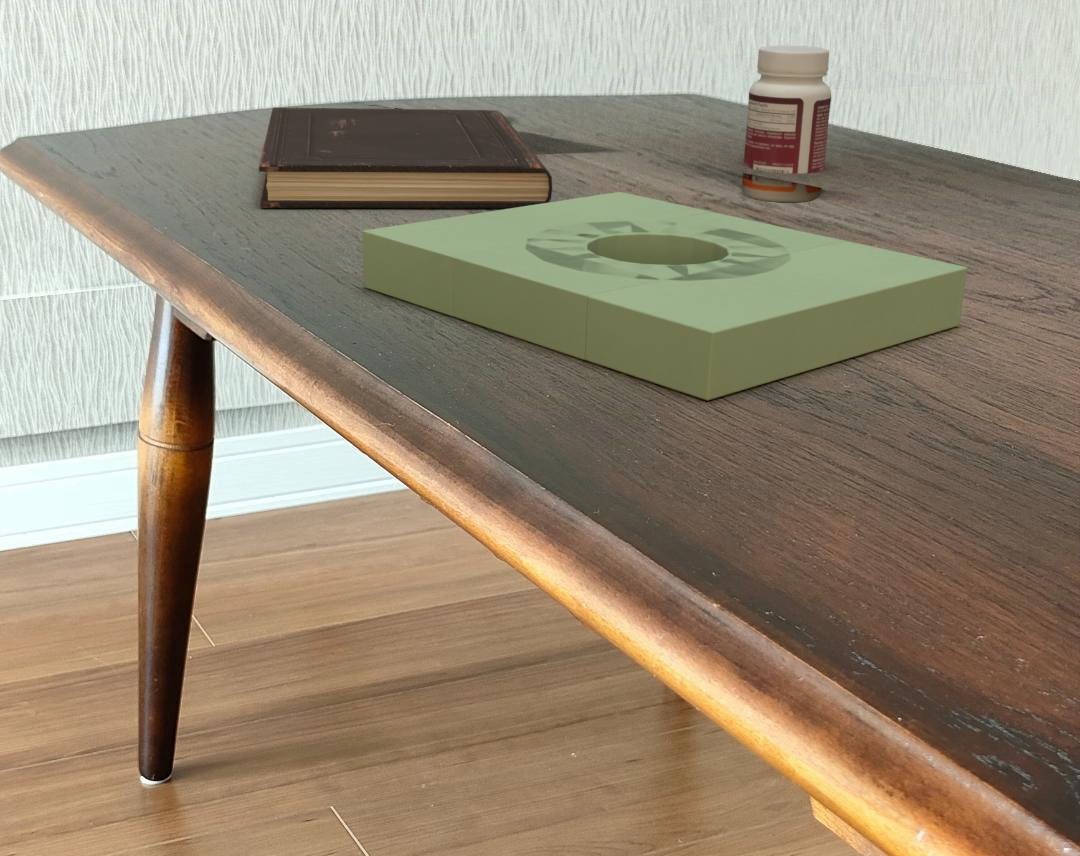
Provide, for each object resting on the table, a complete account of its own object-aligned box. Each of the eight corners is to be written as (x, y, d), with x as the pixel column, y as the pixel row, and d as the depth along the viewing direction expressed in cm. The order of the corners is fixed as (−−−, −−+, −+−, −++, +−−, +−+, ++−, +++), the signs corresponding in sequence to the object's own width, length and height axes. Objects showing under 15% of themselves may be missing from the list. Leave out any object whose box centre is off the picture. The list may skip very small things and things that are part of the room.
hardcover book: (260, 208, 79) (258, 165, 78) (274, 142, 99) (272, 107, 99) (551, 208, 81) (553, 166, 80) (505, 144, 102) (505, 110, 101)
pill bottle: (794, 187, 89) (808, 44, 86) (836, 201, 85) (852, 52, 82) (726, 190, 88) (737, 44, 84) (765, 205, 84) (778, 53, 80)
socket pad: (959, 326, 60) (968, 267, 59) (707, 401, 50) (712, 331, 49) (617, 241, 74) (619, 191, 73) (363, 287, 64) (362, 230, 63)
